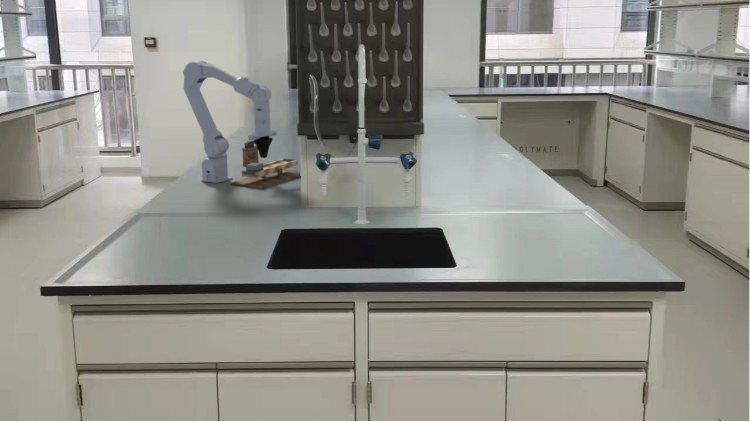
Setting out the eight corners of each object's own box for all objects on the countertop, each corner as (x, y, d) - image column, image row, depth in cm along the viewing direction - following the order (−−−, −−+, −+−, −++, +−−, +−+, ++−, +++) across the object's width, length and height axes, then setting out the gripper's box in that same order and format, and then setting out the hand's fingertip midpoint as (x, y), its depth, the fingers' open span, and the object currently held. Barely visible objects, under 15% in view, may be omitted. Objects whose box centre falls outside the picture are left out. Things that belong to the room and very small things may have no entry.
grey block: (255, 174, 259) (254, 165, 258) (246, 172, 261) (245, 164, 260) (263, 171, 263) (263, 163, 262) (254, 170, 265) (254, 162, 264)
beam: (256, 178, 258) (256, 172, 257) (241, 176, 261) (240, 170, 260) (298, 164, 280) (298, 159, 280) (283, 163, 283) (283, 157, 283)
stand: (261, 188, 255) (261, 176, 254) (230, 184, 262) (230, 173, 261) (308, 174, 281) (308, 163, 280) (279, 170, 287) (278, 159, 286)
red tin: (246, 166, 296) (245, 142, 293) (240, 165, 298) (239, 141, 295) (260, 163, 302) (259, 140, 299) (255, 163, 304) (254, 139, 301)
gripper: (259, 123, 254) (260, 161, 258) (282, 119, 267) (283, 155, 270) (243, 122, 257) (244, 159, 261) (267, 118, 270) (268, 153, 273)
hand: (263, 157), depth 266 cm, fingers closed
